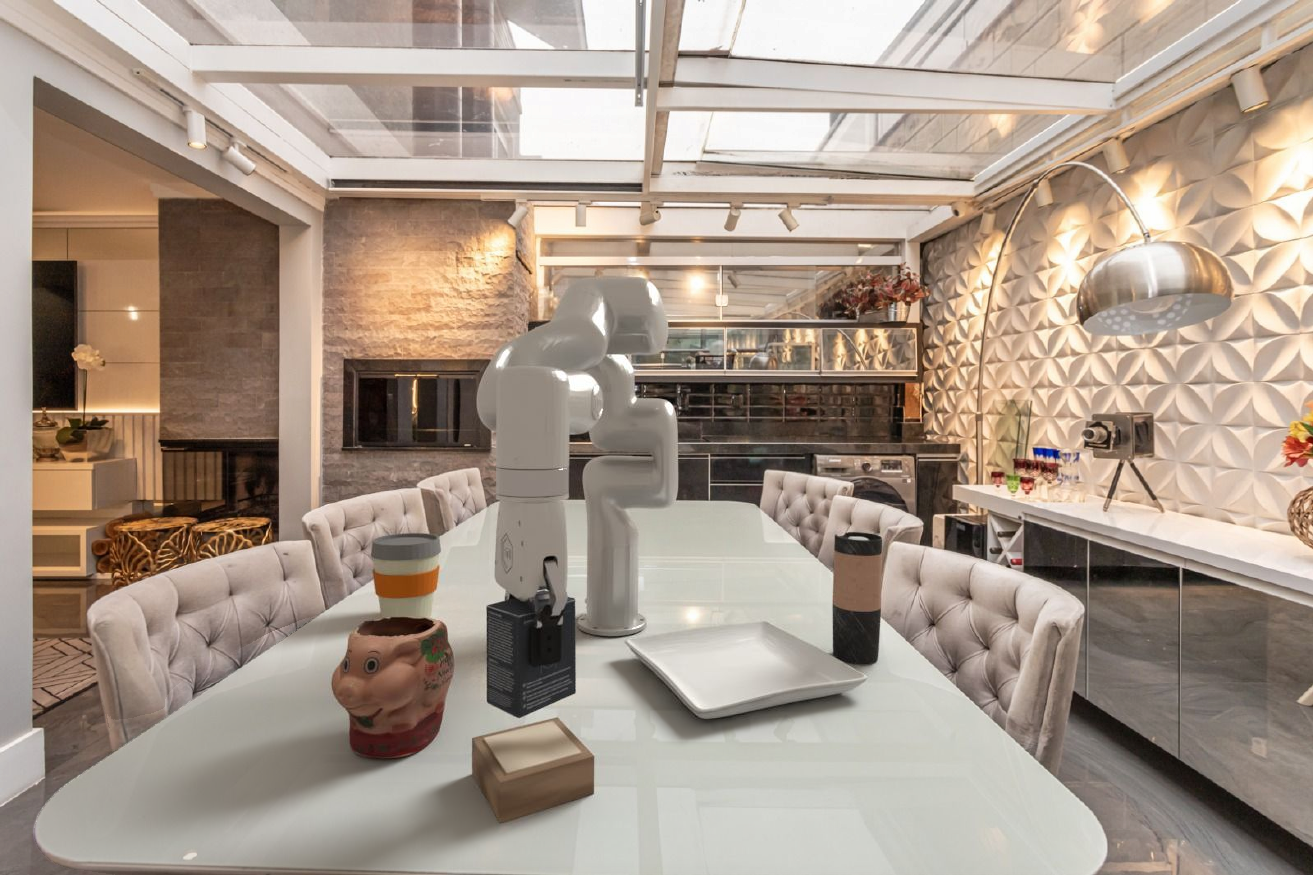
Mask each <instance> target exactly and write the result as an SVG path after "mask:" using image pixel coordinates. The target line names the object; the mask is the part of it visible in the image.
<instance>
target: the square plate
mask: <svg viewBox="0 0 1313 875" xmlns="http://www.w3.org/2000/svg"><path fill="white" fill-rule="evenodd" d="M624 644H625V645H626V646H627V647H628V649H629V650H631V652H632V653H633V654H634V656H636V657H637V658H638V660H639V661H641V662H642V663H643V664H644V665H645V666H646V667H647V668H648V669H650V670H651V671H652V672H653V673H654V675H656V676H657V677H658V678H659V679H660V680H661V681H662V682H663V683H664V684H665V685H666V686H667V687H668V688H669V689H670V690H671V691H672V693H674V695H675V696H676V697H677V698H678V699H679V700H680V701H681V702H682V703H683V704H684V705H685V707H687V709H689V710H690V711H691V712H692V713H693V714H694V715H696V716H697V717H698V718H699V719H702V720H711V719H719V718H725V717H730V716H734V715H738V714H743V713H748V712H754V711H759V710H763V709H766V708H771V707H775V706H780V705H786V704H790V703H797V702H800V701H806V700H812V699H813V700H814V699H819V698H824V697H829V696H833V695H839V694H842V693H846V692H849V691H852V690H854V689H856V688H857V687H859V686H860V685H862V684H864V682H867V679H868V676H867V675H866V674H864V673H863V672H862V671H859V670H857V669H856V668H853V667H852V666H850V665H848V663H846V662H843V661H840V660H838V659H837V658H835V657H834V655H831V654H830V653H828V652H826V651H824V650H822V649H821V648H819V647H817V646H815V645H813V644H811V643H810V642H808V641H806V640H804V639H802V638H800V637H799V636H797V635H795V634H793V633H791V632H789V631H787V630H785V629H783V628H781V627H779V626H778V625H775V624H774V623H771V622H769V621H766V620H756V621H746V622H745V621H744V622H736V623H735V622H734V623H726V624H716V625H708V626H701V627H693V628H692V627H691V628H686V629H679V630H674V631H667V632H662V633H656V634H655V633H654V634H650V635H649V634H648V635H645V636H643V635H642V636H637V637H631V638H627V639H626V638H625V639H624Z"/></svg>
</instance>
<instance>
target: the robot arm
mask: <svg viewBox="0 0 1313 875" xmlns="http://www.w3.org/2000/svg"><path fill="white" fill-rule="evenodd" d="M564 291H565V292H564V293H563V295H562V297H561V299H560V301H559V303H558V305H557V307H556V309H555V311H554V314H553V315H552V317H551V319H550V320H549V322H546V323H544V324H542V325H539V326H537V327H535V328H532V329H531V330H529V331H526V332H525V333H523V334H521V335H518V336H517V337H515V338H513V339H511V340H509V341H507V342H506V343H505V344H503V345H502V346H501V347H499V349H497V351H496V352H495V354H494V355H493V357H492V358H491V360H490V362H489V364H488V365H487V367H486V368H485V370H484V372H483V375H482V377H481V380H480V382H479V384H478V387H477V393H476V409H477V414H478V418H479V420H480V421H481V423H482V424H483V426H485V427H486V428H487V429H489V430H490V431H492V432H495V433H496V434H495V435H496V436H495V438H496V441H495V442H496V445H495V446H496V448H495V449H496V451H495V453H496V454H495V455H496V456H495V459H496V460H495V463H496V464H495V466H496V467H495V468H496V469H495V470H496V471H495V473H496V476H495V478H496V479H495V482H496V483H495V484H496V485H495V499H496V500H497V501H499V503H498V505H499V506H498V510H497V511H498V512H497V518H496V519H497V521H496V530H495V531H496V532H495V533H496V534H495V535H496V536H495V552H494V554H495V555H494V580H495V582H496V584H498V585H499V586H500V588H503V589H504V590H505V594H504V601H505V600H509V599H513V598H517V599H519V600H520V601H527V600H528V598H529V600H530V606H531V613H532V619H533V625H534V626H531V627H530V637H529V663H530V665H531V666H532V667H538V666H543V665H548V664H553V663H558V662H560V660H561V625H562V623H563V616H562V615H563V613H564V610H565V609H564V607H565V604H566V602H567V599H568V597H569V596H568V593H567V587H568V574H569V573H568V571H569V570H568V569H569V568H568V567H569V566H568V556H569V555H568V534H567V533H568V532H567V520H566V519H567V518H566V508H565V501H566V500H568V499H569V498H570V493H569V492H570V435H573V436H574V435H581V434H585V433H588V434H589V439H590V442H591V444H592V445H593V446H594V447H596V448H597V449H598V450H599V449H600V450H605V451H616V452H617V451H618V452H621V451H622V452H625V451H626V452H648V453H649V454H650V455H651V456H641V455H640V456H633V455H602V456H597V457H594V458H592V459H590V460H589V461H588V462H586V464H585V466H584V468H583V470H582V471H583V472H582V488H583V494H584V500H585V501H584V502H585V509H586V510H585V511H586V535H587V536H586V538H587V539H586V545H587V546H586V597H585V599H584V603H585V604H586V613H585V614H583V615H581V616H580V617H579V618H578V619H577V620H578V621H577V626H578V628H579V630H581V632H583V633H586V634H589V635H590V634H591V635H593V636H599V637H600V636H601V637H622V636H630V635H632V634H633V635H634V634H636V633H639V632H641V631H643V630H644V629H645V628H646V626H647V619H646V617H645V616H644V615H643V614H642V613H639V557H640V556H639V554H640V553H639V552H640V551H639V545H640V544H639V541H640V539H639V538H640V535H639V529H638V527H637V525H636V523H635V521H634V520H633V519H632V517H631V516H630V514H629V513H628V512H627V511H626V509H650V510H651V509H657V510H659V509H667V508H670V507H672V506H673V505H674V504H675V502H676V500H677V497H678V492H679V446H678V445H679V442H678V441H679V439H678V438H679V434H678V432H679V430H678V420H677V413H676V410H675V407H674V405H673V404H672V403H671V402H670V401H668V400H667V399H663V398H655V397H654V398H653V397H651V398H650V397H648V398H647V397H646V398H644V397H637V395H636V390H635V388H636V387H635V386H636V385H635V384H636V383H635V378H636V377H635V376H636V375H635V370H634V368H633V365H632V363H631V361H630V360H629V359H628V358H627V356H653V355H658V354H660V353H661V352H662V351H663V350H664V349H665V347H666V345H667V343H668V337H669V320H668V316H667V313H666V309H665V306H664V303H663V299H662V296H661V294H660V292H659V290H658V288H657V287H656V286H655V284H653V283H652V281H650V280H648V279H647V278H644V277H640V276H624V277H623V276H621V277H620V276H611V277H609V276H607V277H605V276H594V277H585V278H581V279H578V280H575V281H574V282H572V283H571V284H569V285H568V287H567V288H566V290H564ZM542 590H545V591H549V593H548V594H540V595H536V593H537V592H539V591H542ZM547 601H548V602H549V604H548V605H545V606H544V608H543V610H542V612H540V606H539V603H540V602H547Z"/></svg>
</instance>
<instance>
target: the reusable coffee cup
mask: <svg viewBox="0 0 1313 875" xmlns="http://www.w3.org/2000/svg"><path fill="white" fill-rule="evenodd" d="M371 541H372V542H371V543H372V544H371V552H370V557H371V558H372V559H373V560H372V561H373V569H372V577H373V578H372V580H373V586H374V591H375V595H376V596H377V597H378V602H379V610H380V615H381V618H387V617H399V616H415V617H427V618H431V616H432V612H433V611H432V610H433V602H434V596H435V591H437V589H438V582H439V574H440V565H439V557H440V554H441V552H442V550H441V549H442V547H441V541H440V536H439V535H437V534H435V533H433V534H432V533H424V532H423V533H421V532H407V533H406V532H405V533H404V532H403V533H394V534H389V535H382V536H378V537H376V538H374V539H373V540H371ZM381 618H380V619H381Z"/></svg>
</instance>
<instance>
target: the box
mask: <svg viewBox="0 0 1313 875" xmlns="http://www.w3.org/2000/svg"><path fill="white" fill-rule="evenodd" d="M548 593H549V591H548V590H546V589H545V590H538V591H537V593H536V595H540V594H548ZM575 598H576V597H571V596H568V599H567V602H566V604H565V607H564V609H565V610H564V613H563V615H562V616H563V623H562V625H561V660H560V662H558V663H553V664H548V665H543V666H538V667H532V666H531V665H530V663H529V637H530V627H531V626H534V625H533V619H532V613H531V606H530V600H529V598H528V600H527V601H520V600H519V599H517V598H513V599H509V600H505V599H504V600H501V601H498V602H495V603H490V604H487V605H486V703H487V704H488V705H490V706H492V707H495V708H496V709H498V710H501V711H503V712H504V713H507V714H508V715H510V716H512V717H515V718H517V719H522V718H523V717H526V716H528V715H530V714H532V713H535V712H537V711H539V710H541V709H543V708H546V707H548V706H551V705H552V704H554V703H555V704H556V703H558V702H559V701H561V700H564V699H566V698H568V697H570V696H573V695H575V694H576V692H577V691H576V688H577V687H576V686H577V682H576V681H577V677H576V674H577V672H576V671H577V669H576V665H577V664H576V662H577V661H576V660H577V658H576V649H577V648H576V638H577V637H576V634H577V633H576V599H575ZM548 604H549V602H548V601H547V602H540V603H539V606H540V612H542V610H543V608H544V606H545V605H548Z"/></svg>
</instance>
